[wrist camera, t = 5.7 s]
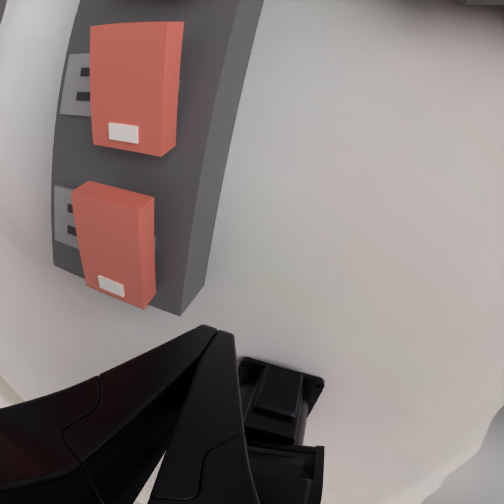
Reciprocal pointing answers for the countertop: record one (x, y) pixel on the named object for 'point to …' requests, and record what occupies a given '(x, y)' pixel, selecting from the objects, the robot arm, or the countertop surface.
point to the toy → (479, 2)
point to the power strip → (174, 161)
